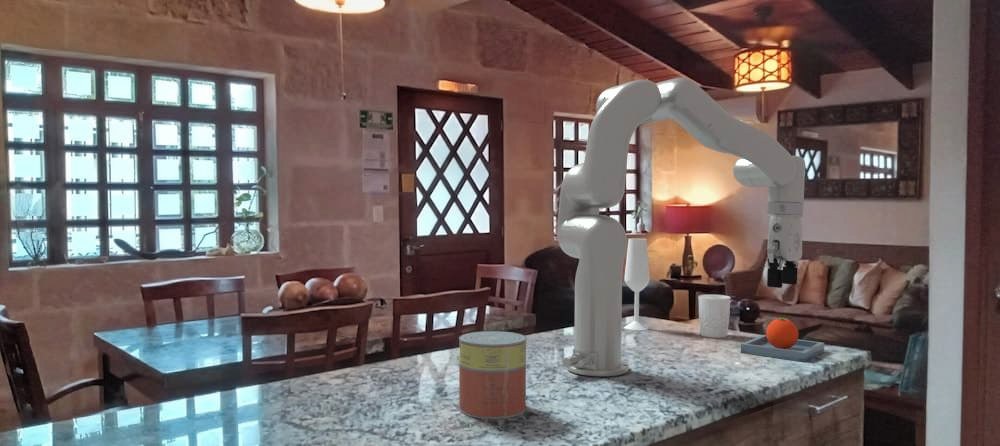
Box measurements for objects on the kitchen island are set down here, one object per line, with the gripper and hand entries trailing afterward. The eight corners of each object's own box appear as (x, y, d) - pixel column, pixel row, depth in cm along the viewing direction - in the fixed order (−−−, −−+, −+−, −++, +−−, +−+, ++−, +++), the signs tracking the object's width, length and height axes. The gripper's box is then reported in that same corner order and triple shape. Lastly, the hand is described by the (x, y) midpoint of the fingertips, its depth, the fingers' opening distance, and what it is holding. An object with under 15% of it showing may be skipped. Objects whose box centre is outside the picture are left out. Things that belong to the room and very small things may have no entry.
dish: (804, 362, 153) (804, 353, 153) (740, 352, 163) (740, 343, 162) (824, 351, 164) (824, 342, 164) (763, 343, 173) (763, 334, 173)
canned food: (485, 395, 127) (485, 328, 127) (538, 406, 121) (539, 336, 121) (444, 410, 118) (445, 338, 118) (500, 423, 112) (501, 347, 111)
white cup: (726, 332, 186) (726, 294, 185) (733, 339, 178) (733, 299, 178) (695, 332, 187) (695, 294, 186) (700, 338, 179) (701, 298, 178)
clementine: (769, 343, 169) (770, 313, 168) (801, 347, 165) (802, 316, 165) (762, 349, 162) (763, 318, 162) (795, 353, 158) (796, 321, 158)
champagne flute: (625, 324, 196) (626, 237, 196) (650, 326, 194) (651, 238, 193) (622, 329, 190) (623, 239, 189) (647, 330, 188) (648, 239, 187)
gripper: (789, 210, 153) (786, 290, 154) (814, 211, 166) (811, 284, 167) (754, 209, 158) (751, 286, 158) (781, 210, 171) (778, 281, 172)
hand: (782, 285), depth 163 cm, fingers open, 9 cm apart
